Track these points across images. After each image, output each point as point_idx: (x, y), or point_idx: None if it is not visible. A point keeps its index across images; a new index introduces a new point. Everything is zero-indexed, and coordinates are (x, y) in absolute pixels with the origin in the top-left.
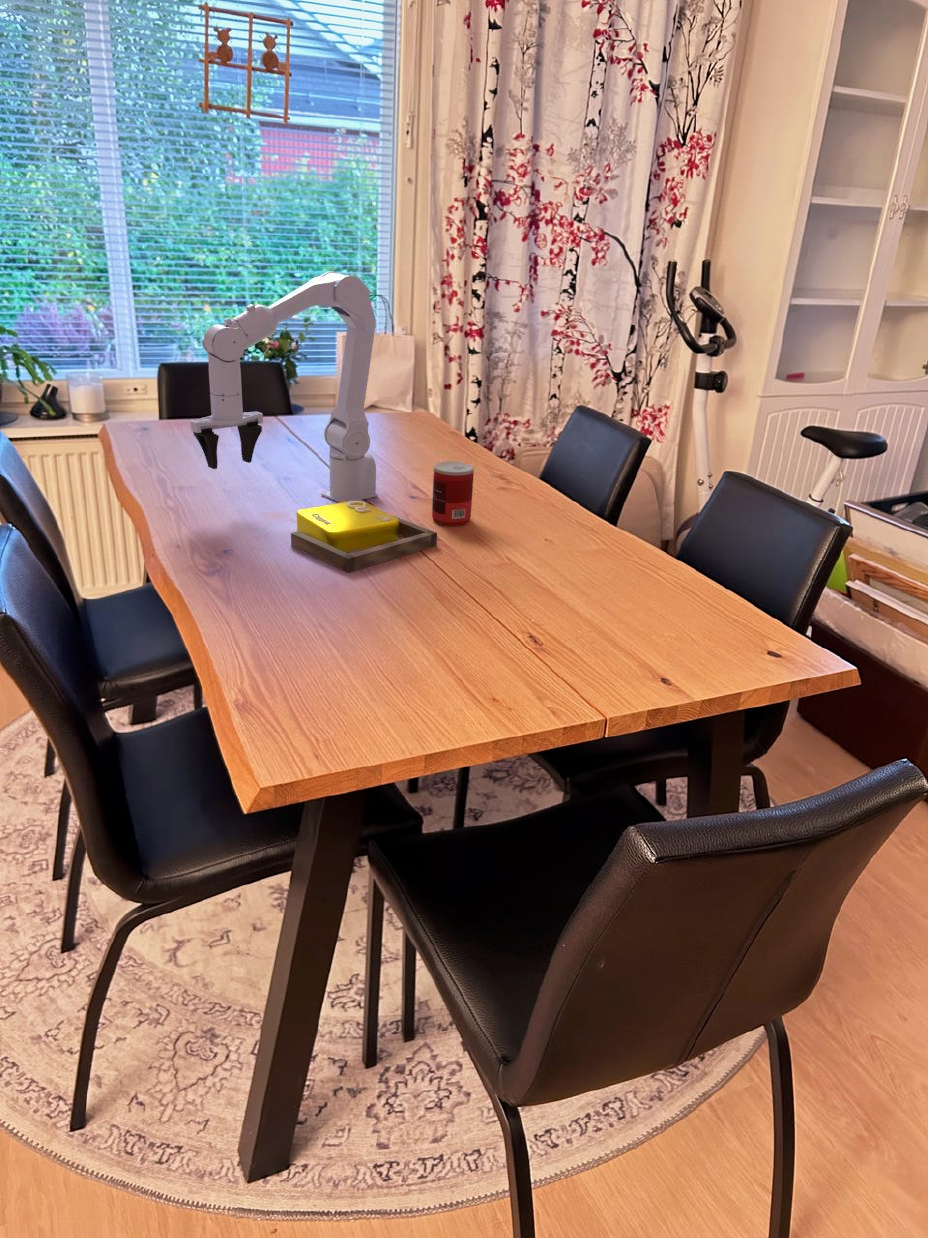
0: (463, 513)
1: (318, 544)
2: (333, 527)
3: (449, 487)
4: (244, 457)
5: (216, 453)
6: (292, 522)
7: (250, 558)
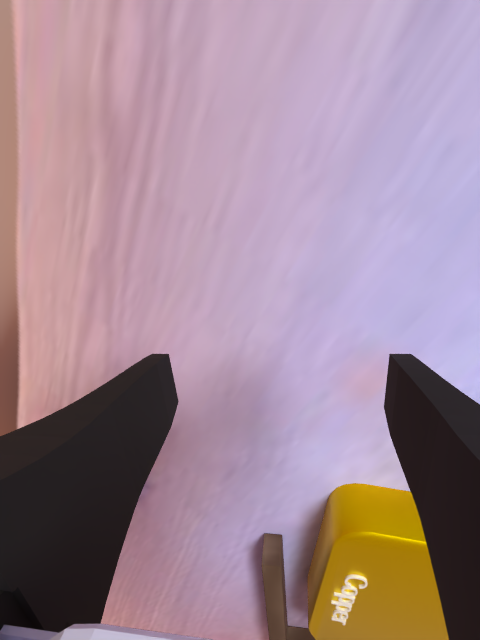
0: None
1: (270, 616)
2: (331, 631)
3: None
4: (392, 389)
5: (140, 486)
6: (368, 447)
7: (165, 528)
